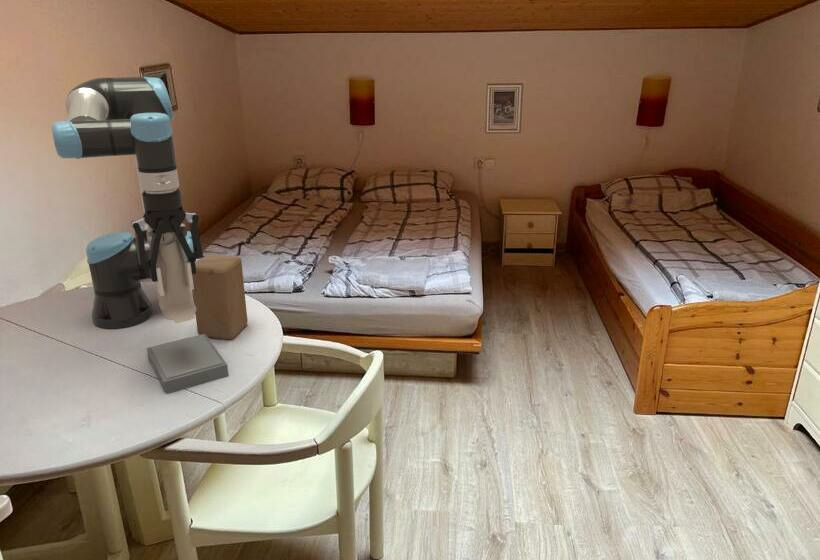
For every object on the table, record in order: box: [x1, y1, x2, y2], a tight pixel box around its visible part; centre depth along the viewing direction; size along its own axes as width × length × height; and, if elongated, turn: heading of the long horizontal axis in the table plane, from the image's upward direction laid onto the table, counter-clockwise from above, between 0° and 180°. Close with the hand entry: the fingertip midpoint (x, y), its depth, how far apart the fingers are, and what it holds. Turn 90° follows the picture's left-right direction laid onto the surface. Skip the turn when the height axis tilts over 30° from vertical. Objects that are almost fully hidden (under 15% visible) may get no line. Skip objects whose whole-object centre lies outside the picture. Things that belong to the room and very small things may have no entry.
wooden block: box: [191, 254, 249, 340], centre depth 153 cm, size 10×10×20 cm
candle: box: [146, 225, 196, 324], centre depth 130 cm, size 7×14×20 cm, turn 31°
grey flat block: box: [146, 334, 229, 394], centre depth 139 cm, size 18×14×3 cm
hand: (176, 290), depth 132 cm, fingers closed on candle, 6 cm apart
